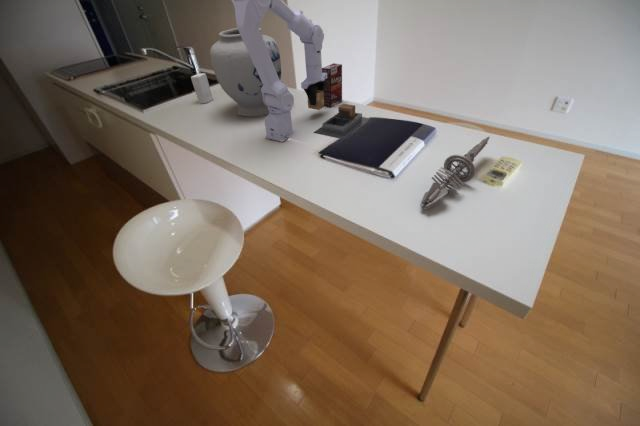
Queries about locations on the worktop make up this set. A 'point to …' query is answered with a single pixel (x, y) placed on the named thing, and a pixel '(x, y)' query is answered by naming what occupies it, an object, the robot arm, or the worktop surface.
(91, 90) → the worktop surface
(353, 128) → the board
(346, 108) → the brown wooden block
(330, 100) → the supplement box
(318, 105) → the oak block
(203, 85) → the skincare box
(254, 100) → the white ceramic vase
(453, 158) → the spaceship
